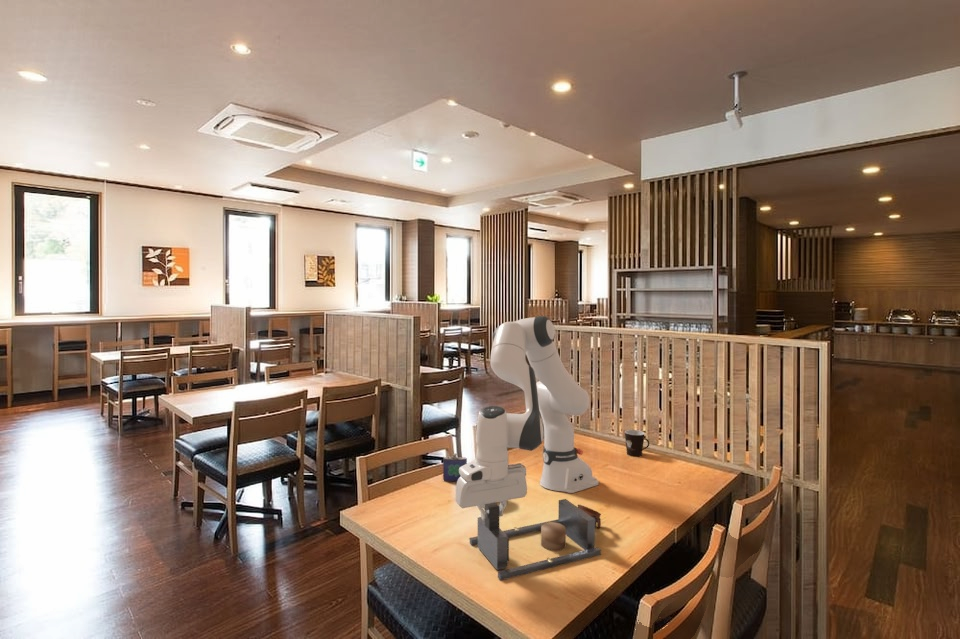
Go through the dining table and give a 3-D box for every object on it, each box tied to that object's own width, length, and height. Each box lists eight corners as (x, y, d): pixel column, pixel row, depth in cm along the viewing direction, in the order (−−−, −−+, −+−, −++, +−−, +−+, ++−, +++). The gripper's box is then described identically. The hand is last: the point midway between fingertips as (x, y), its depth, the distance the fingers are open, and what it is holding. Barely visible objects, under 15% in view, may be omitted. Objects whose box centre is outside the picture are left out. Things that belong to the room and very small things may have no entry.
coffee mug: (621, 451, 228) (621, 430, 227) (639, 450, 229) (639, 429, 228) (631, 460, 216) (632, 437, 216) (650, 459, 217) (651, 436, 217)
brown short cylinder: (557, 536, 149) (557, 520, 148) (570, 547, 142) (570, 530, 142) (536, 541, 146) (536, 524, 145) (549, 553, 139) (549, 535, 139)
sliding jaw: (489, 544, 143) (489, 494, 142) (509, 567, 131) (509, 513, 130) (477, 546, 141) (477, 496, 141) (497, 570, 130) (497, 515, 129)
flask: (467, 479, 194) (467, 452, 193) (466, 482, 191) (466, 455, 190) (443, 479, 194) (443, 452, 194) (442, 482, 191) (442, 454, 191)
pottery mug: (561, 526, 156) (570, 500, 158) (587, 537, 157) (596, 512, 160) (578, 534, 145) (587, 506, 147) (606, 546, 146) (615, 518, 148)
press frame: (560, 523, 157) (560, 495, 157) (601, 555, 138) (601, 523, 137) (469, 542, 145) (469, 512, 144) (500, 581, 126) (500, 546, 125)
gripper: (520, 458, 142) (520, 506, 143) (453, 468, 134) (453, 519, 134) (531, 465, 136) (531, 515, 137) (461, 476, 128) (461, 529, 129)
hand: (492, 517), depth 136 cm, fingers closed on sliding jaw, 3 cm apart
